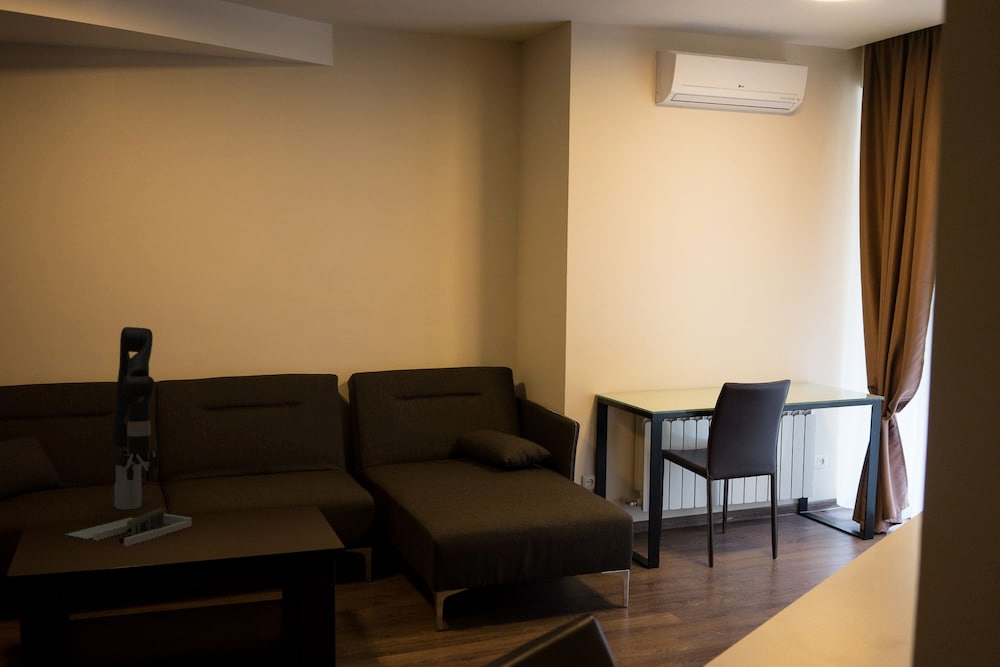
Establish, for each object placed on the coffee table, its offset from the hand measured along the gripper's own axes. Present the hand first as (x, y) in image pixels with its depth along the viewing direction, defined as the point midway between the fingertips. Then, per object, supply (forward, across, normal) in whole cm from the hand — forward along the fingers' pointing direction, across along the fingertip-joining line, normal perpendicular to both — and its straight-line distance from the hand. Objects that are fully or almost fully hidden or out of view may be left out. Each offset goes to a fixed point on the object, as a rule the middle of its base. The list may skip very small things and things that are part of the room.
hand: (139, 480), depth 315 cm
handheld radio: (+19, 0, -1) cm, 19 cm away
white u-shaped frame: (+19, 0, -1) cm, 19 cm away
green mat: (+19, +16, -2) cm, 25 cm away
